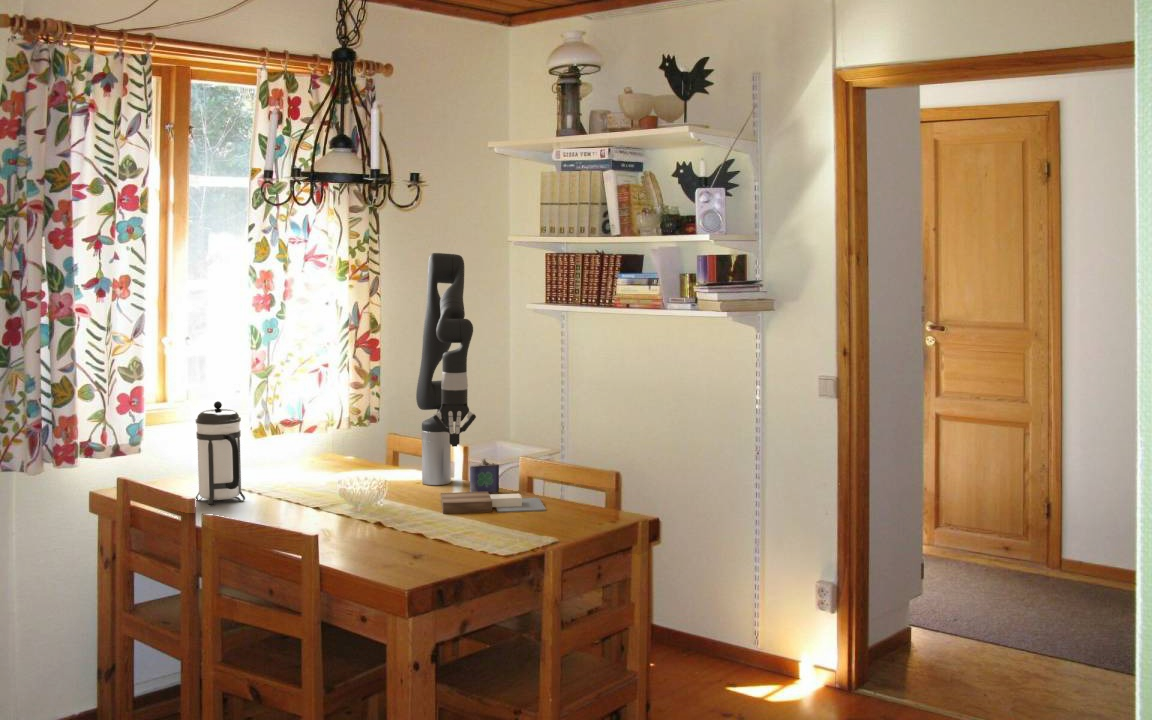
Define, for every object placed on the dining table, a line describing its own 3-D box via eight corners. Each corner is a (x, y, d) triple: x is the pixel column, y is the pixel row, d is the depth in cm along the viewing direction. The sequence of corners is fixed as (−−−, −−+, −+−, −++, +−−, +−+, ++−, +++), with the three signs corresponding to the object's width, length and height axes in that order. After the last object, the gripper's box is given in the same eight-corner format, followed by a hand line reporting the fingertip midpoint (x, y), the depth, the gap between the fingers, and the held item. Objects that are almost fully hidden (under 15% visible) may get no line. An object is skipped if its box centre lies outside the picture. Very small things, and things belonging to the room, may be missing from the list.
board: (440, 502, 327) (440, 492, 327) (487, 501, 330) (487, 491, 329) (443, 513, 314) (443, 503, 313) (492, 511, 316) (492, 501, 316)
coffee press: (182, 506, 322) (179, 404, 319) (209, 494, 338) (206, 397, 335) (238, 508, 319) (235, 405, 317) (262, 496, 335) (260, 399, 332)
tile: (489, 502, 326) (489, 494, 326) (519, 501, 327) (519, 493, 327) (491, 507, 320) (491, 498, 320) (521, 506, 321) (521, 497, 321)
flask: (470, 495, 339) (470, 460, 338) (468, 493, 341) (468, 459, 340) (499, 493, 342) (499, 459, 341) (497, 491, 344) (497, 457, 343)
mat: (492, 500, 331) (492, 499, 331) (538, 498, 333) (538, 497, 333) (497, 512, 315) (497, 511, 315) (546, 510, 318) (546, 509, 317)
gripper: (476, 385, 324) (476, 443, 326) (431, 385, 322) (431, 444, 324) (478, 388, 317) (478, 448, 319) (432, 389, 314) (432, 448, 316)
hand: (454, 446), depth 321 cm, fingers closed
